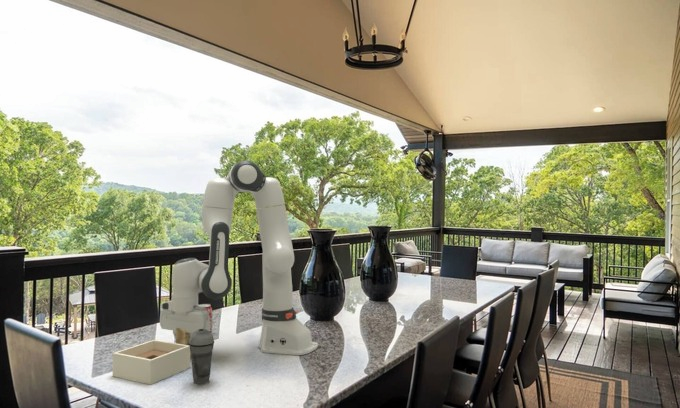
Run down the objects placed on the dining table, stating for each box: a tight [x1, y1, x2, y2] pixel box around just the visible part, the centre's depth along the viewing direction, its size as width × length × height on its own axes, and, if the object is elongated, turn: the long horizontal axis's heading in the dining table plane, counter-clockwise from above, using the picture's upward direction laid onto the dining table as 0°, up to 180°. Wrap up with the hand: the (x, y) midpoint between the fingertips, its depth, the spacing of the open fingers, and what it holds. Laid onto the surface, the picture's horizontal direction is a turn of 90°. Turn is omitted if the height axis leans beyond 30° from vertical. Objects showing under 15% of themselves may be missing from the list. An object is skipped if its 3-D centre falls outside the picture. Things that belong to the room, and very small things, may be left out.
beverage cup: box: [189, 314, 215, 386], centre depth 133 cm, size 7×7×20 cm
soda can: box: [198, 303, 213, 334], centre depth 184 cm, size 7×7×12 cm
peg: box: [175, 328, 191, 357], centre depth 157 cm, size 4×4×10 cm
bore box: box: [112, 339, 191, 385], centre depth 141 cm, size 16×16×7 cm
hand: (184, 344), depth 157 cm, fingers closed on peg, 4 cm apart
